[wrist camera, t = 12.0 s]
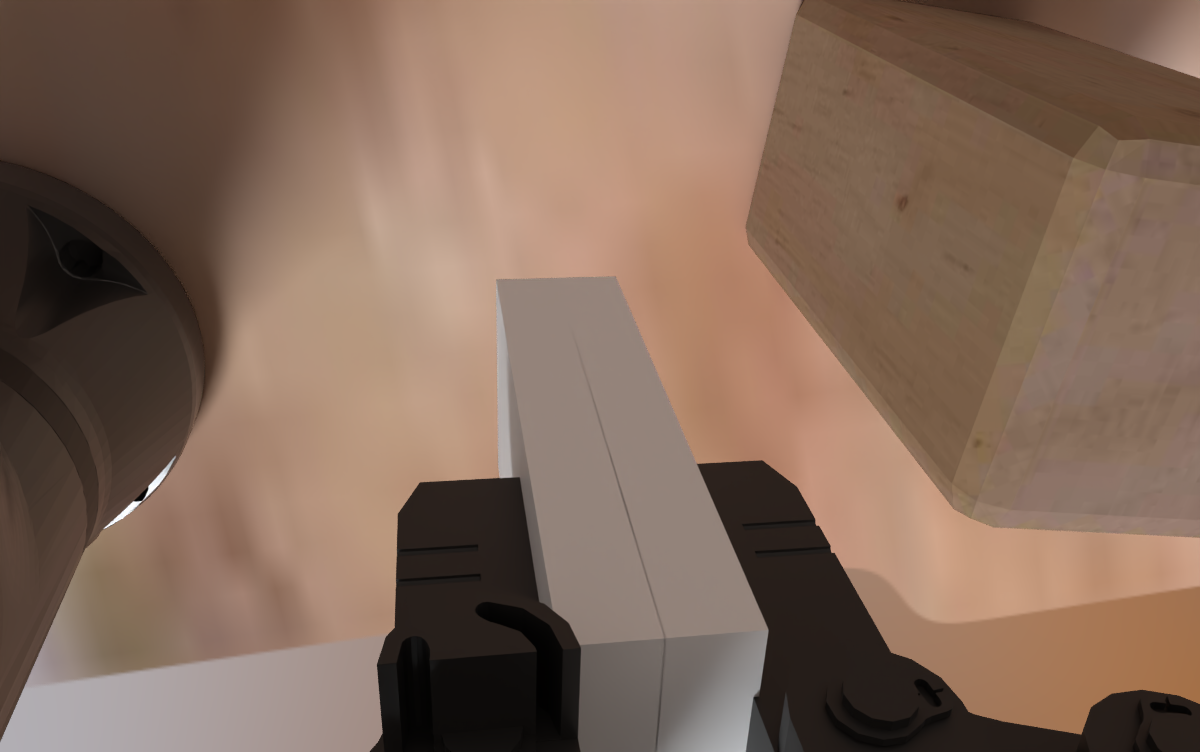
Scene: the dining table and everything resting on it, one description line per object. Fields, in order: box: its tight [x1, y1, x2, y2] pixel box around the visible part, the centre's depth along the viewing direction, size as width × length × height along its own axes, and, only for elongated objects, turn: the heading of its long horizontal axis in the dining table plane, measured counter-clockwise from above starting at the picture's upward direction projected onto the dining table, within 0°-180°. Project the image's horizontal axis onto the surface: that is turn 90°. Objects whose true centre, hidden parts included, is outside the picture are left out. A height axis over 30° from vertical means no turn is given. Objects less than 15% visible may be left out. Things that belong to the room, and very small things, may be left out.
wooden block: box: [746, 0, 1200, 538], centre depth 32 cm, size 10×10×20 cm
